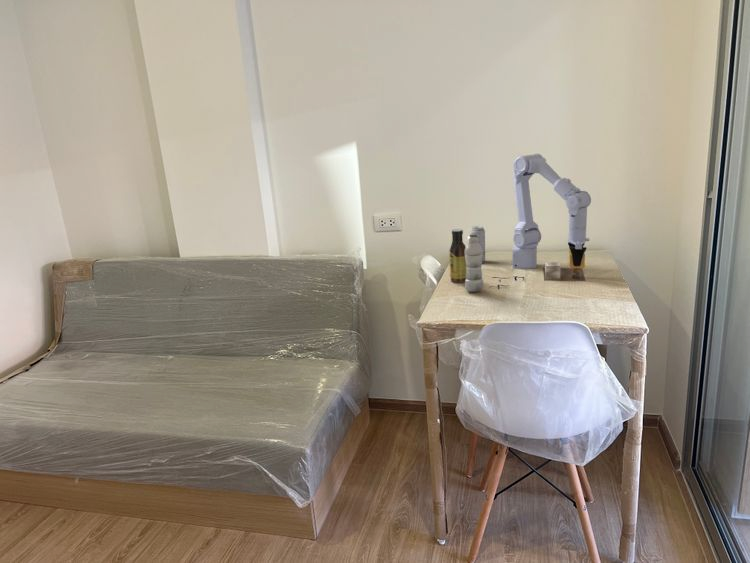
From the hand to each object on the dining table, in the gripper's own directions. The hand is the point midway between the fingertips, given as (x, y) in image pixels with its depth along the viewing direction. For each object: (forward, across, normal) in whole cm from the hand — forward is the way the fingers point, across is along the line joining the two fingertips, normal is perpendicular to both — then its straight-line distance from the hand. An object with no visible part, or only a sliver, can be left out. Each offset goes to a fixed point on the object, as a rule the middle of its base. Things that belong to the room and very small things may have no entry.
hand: (576, 263), depth 193 cm
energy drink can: (+6, +25, +37) cm, 45 cm away
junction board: (+6, +4, +4) cm, 8 cm away
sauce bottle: (+6, -2, +42) cm, 43 cm away
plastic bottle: (+6, -14, +35) cm, 38 cm away
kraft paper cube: (+1, 0, 0) cm, 1 cm away
